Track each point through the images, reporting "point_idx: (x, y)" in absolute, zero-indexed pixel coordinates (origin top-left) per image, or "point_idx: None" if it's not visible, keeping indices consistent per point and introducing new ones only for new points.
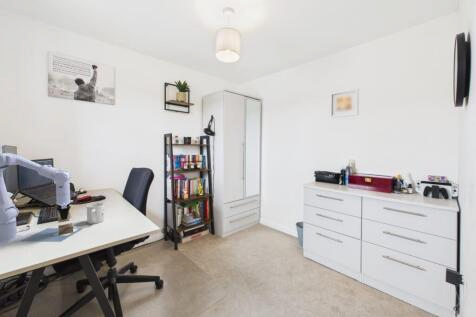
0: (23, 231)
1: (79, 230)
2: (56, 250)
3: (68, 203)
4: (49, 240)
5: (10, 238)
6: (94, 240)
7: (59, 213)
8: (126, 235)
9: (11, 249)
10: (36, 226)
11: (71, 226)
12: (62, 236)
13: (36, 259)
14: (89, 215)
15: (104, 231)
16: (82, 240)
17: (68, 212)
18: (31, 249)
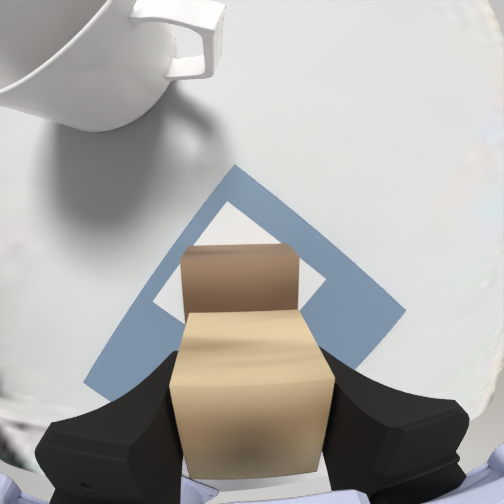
0: None
1: (270, 197)
2: (472, 316)
3: (466, 499)
4: None
5: (193, 491)
6: (481, 148)
7: (316, 460)
8: (483, 22)
9: None
10: (30, 408)
11: (295, 268)
12: (323, 309)
13: (482, 366)
14: (122, 88)
15: (387, 56)
16: (451, 200)
17: (332, 377)
18: None
